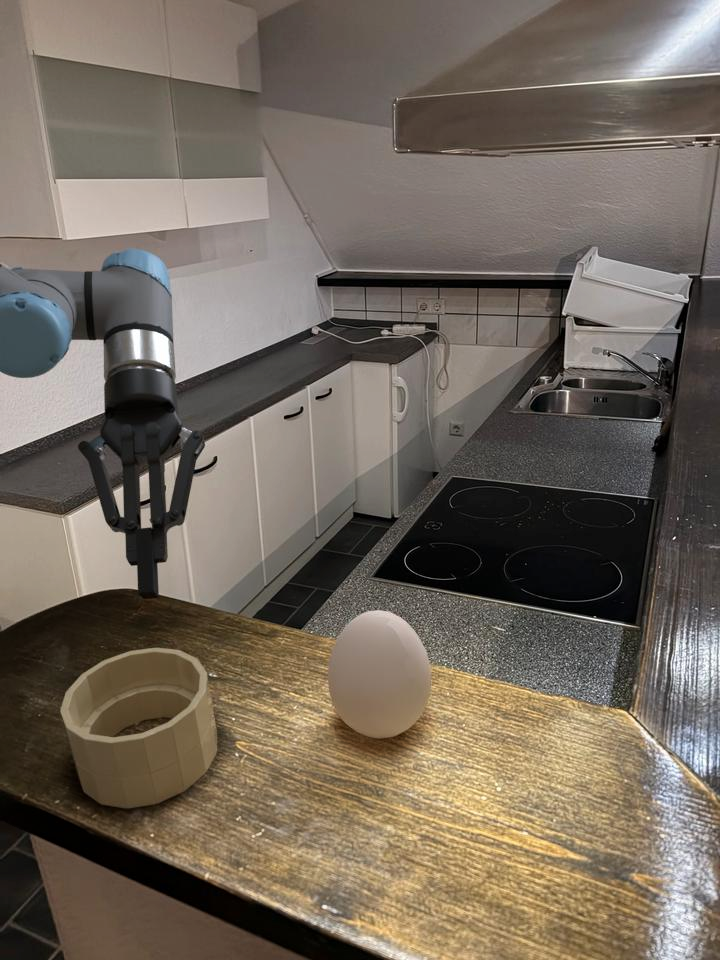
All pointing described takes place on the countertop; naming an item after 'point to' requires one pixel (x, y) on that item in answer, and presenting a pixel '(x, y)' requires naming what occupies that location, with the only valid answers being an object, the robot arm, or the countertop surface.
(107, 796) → the ring
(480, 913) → the countertop surface
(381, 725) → the egg
